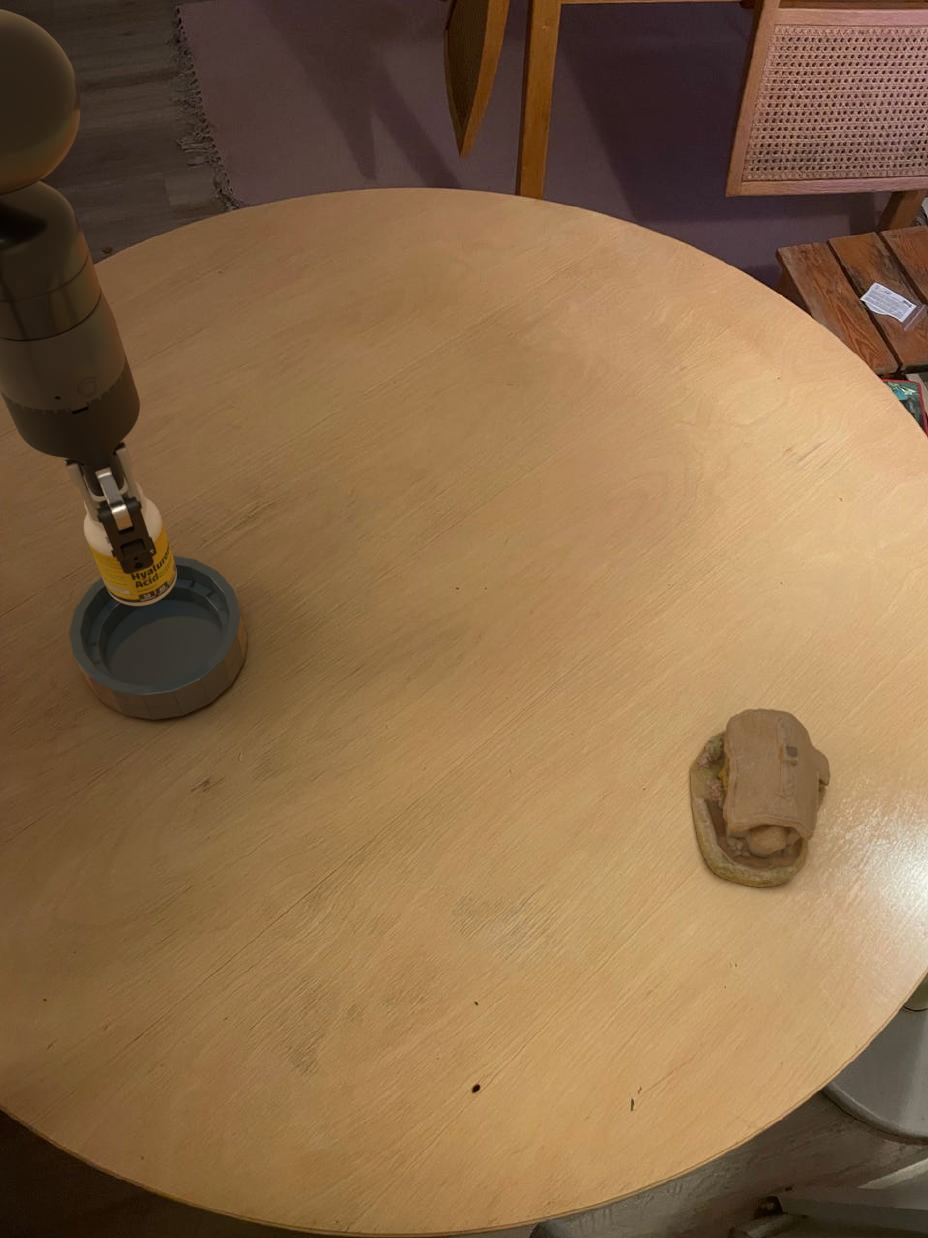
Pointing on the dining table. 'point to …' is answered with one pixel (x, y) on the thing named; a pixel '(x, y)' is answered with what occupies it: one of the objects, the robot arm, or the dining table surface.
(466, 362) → the dining table surface
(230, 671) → the bowl
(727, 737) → the ceramic model
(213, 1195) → the dining table surface
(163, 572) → the supplement bottle
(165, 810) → the dining table surface
